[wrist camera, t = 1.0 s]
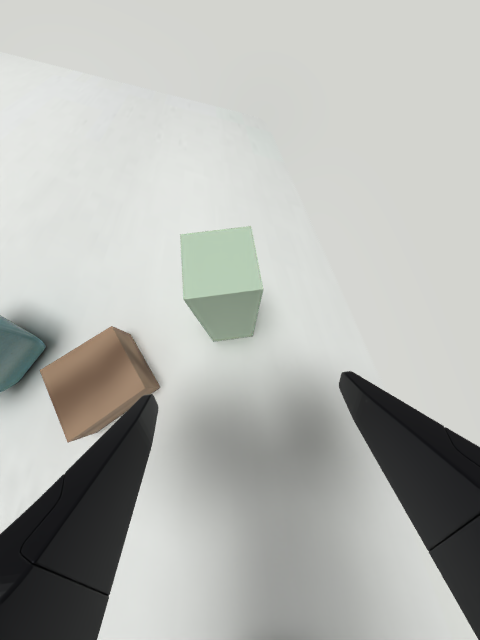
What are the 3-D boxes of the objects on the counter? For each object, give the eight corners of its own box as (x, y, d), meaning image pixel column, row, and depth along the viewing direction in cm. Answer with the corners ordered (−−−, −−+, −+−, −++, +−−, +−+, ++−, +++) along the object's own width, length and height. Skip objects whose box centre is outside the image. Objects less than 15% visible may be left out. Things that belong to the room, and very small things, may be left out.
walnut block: (161, 387, 23) (145, 388, 19) (98, 431, 21) (67, 442, 18) (131, 334, 25) (111, 326, 21) (72, 372, 23) (39, 370, 20)
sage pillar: (252, 336, 24) (263, 289, 12) (213, 341, 24) (183, 299, 12) (246, 300, 26) (251, 226, 13) (210, 305, 26) (180, 234, 13)
